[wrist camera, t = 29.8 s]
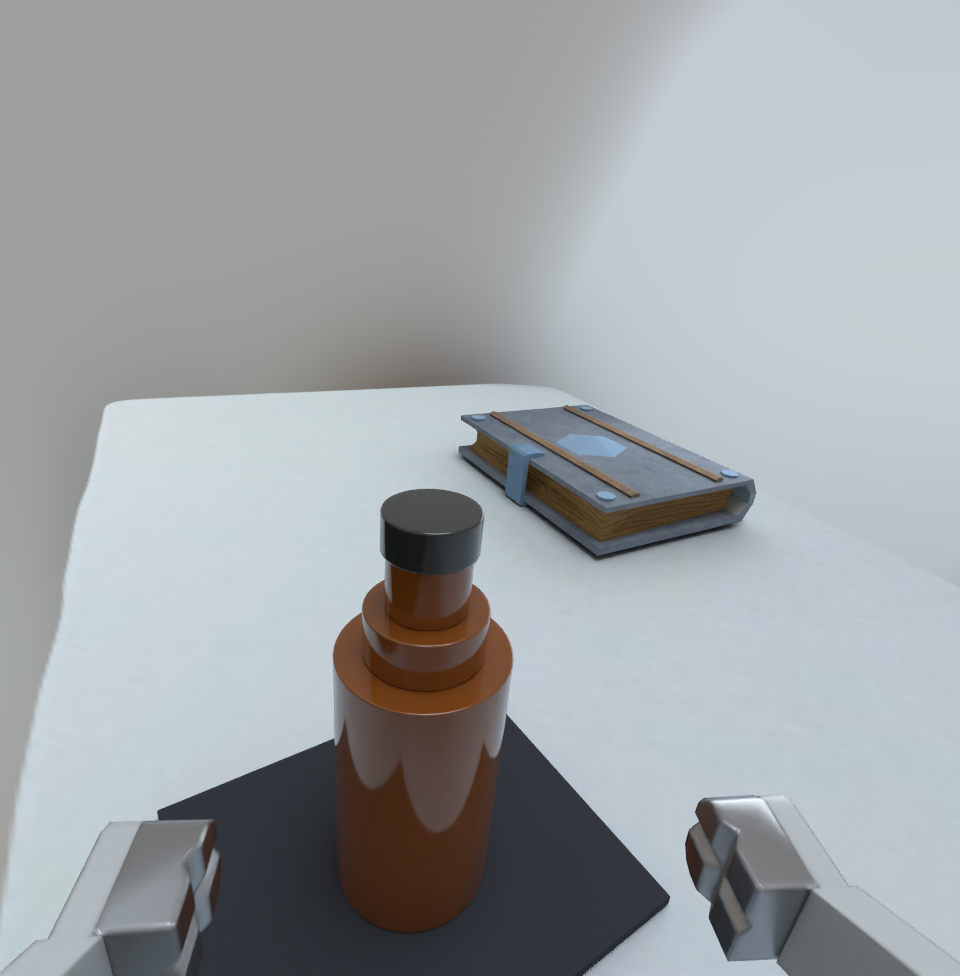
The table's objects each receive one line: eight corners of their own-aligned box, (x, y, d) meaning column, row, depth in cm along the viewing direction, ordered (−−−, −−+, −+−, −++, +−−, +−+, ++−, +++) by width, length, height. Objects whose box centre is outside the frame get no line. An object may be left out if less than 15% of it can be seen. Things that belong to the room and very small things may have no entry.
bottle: (376, 969, 18) (385, 583, 12) (314, 828, 21) (300, 487, 16) (515, 878, 20) (574, 532, 15) (439, 768, 24) (463, 461, 19)
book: (746, 523, 49) (763, 468, 47) (591, 562, 41) (603, 497, 39) (587, 440, 66) (594, 396, 64) (454, 456, 58) (457, 407, 56)
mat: (246, 1252, 13) (245, 1245, 13) (158, 817, 22) (156, 810, 22) (668, 903, 20) (671, 896, 20) (475, 686, 29) (476, 679, 29)
